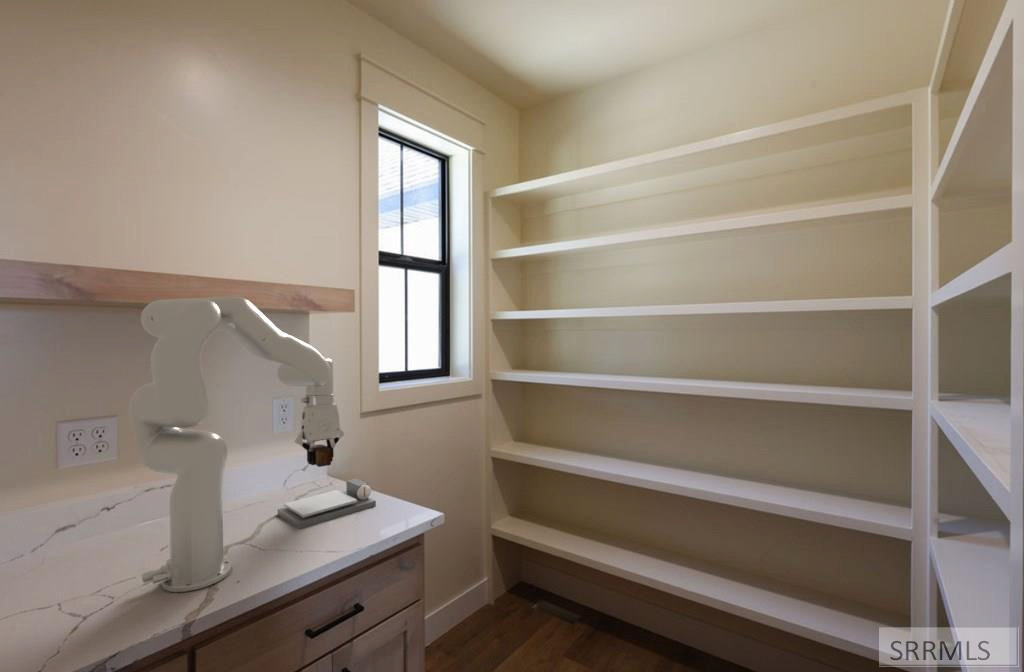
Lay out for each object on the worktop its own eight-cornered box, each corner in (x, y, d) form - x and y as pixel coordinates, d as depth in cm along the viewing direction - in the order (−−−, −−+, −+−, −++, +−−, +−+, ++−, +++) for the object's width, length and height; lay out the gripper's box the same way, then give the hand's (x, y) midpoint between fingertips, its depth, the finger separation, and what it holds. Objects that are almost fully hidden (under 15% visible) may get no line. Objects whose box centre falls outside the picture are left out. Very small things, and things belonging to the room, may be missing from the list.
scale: (299, 528, 127) (298, 506, 127) (277, 514, 138) (277, 493, 138) (376, 505, 144) (376, 485, 144) (352, 494, 155) (351, 475, 155)
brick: (332, 465, 137) (332, 449, 137) (318, 467, 134) (318, 451, 134) (322, 457, 145) (321, 442, 145) (308, 460, 143) (308, 444, 143)
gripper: (295, 404, 131) (296, 471, 131) (353, 398, 143) (353, 459, 143) (285, 402, 136) (285, 466, 136) (341, 396, 148) (341, 454, 148)
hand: (320, 461), depth 139 cm, fingers closed on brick, 4 cm apart
